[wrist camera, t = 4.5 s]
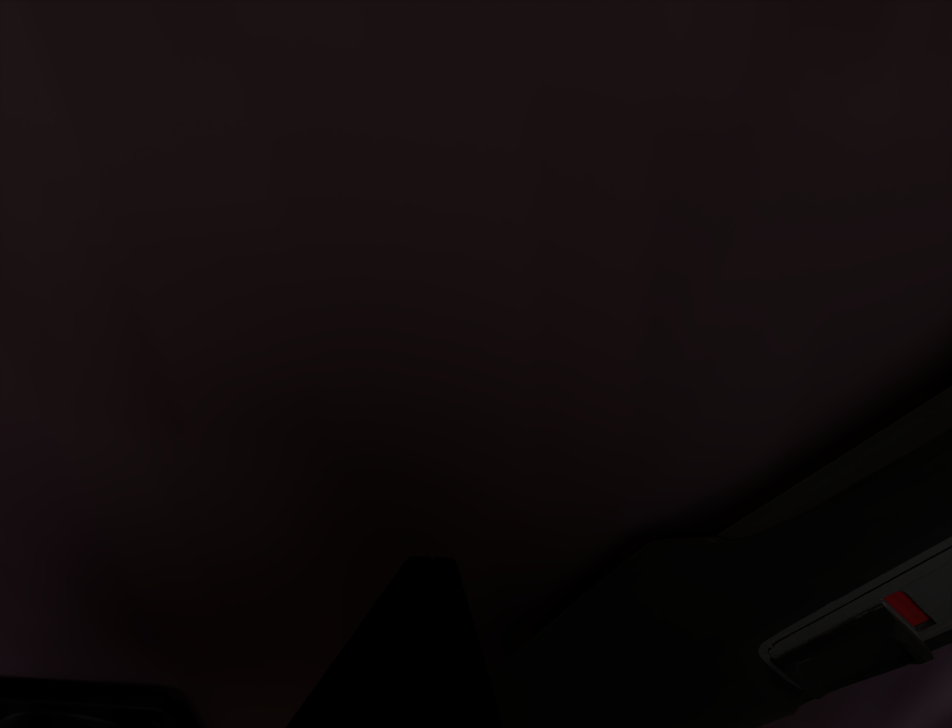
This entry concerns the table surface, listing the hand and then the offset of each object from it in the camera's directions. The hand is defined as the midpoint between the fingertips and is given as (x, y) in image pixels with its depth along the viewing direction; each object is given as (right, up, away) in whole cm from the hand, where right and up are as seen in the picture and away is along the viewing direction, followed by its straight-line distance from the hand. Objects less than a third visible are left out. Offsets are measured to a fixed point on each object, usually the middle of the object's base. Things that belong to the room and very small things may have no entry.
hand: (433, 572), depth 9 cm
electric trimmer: (+6, 0, +1) cm, 7 cm away
